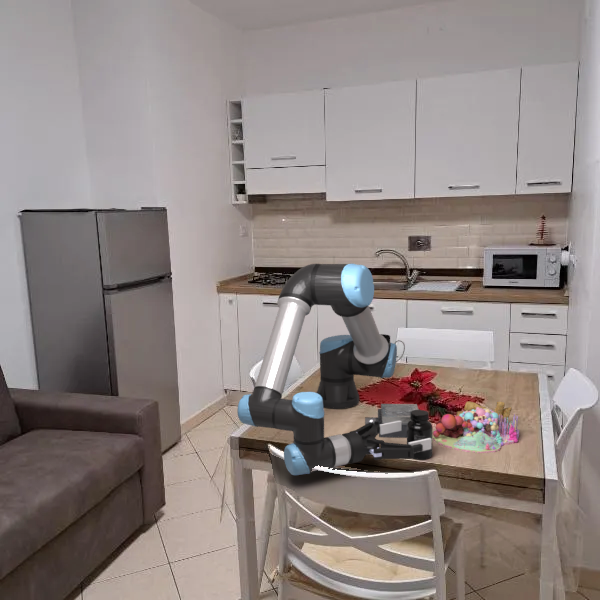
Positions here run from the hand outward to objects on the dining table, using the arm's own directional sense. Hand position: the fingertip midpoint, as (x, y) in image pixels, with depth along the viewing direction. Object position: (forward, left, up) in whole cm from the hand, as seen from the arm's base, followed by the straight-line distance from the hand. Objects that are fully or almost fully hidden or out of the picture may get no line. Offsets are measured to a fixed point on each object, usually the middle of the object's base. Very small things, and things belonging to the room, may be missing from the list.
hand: (415, 434), depth 148 cm
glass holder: (-4, +80, -7) cm, 81 cm away
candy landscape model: (+19, +16, -7) cm, 26 cm away
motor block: (-5, +19, -6) cm, 21 cm away
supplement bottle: (+1, +1, -7) cm, 7 cm away
